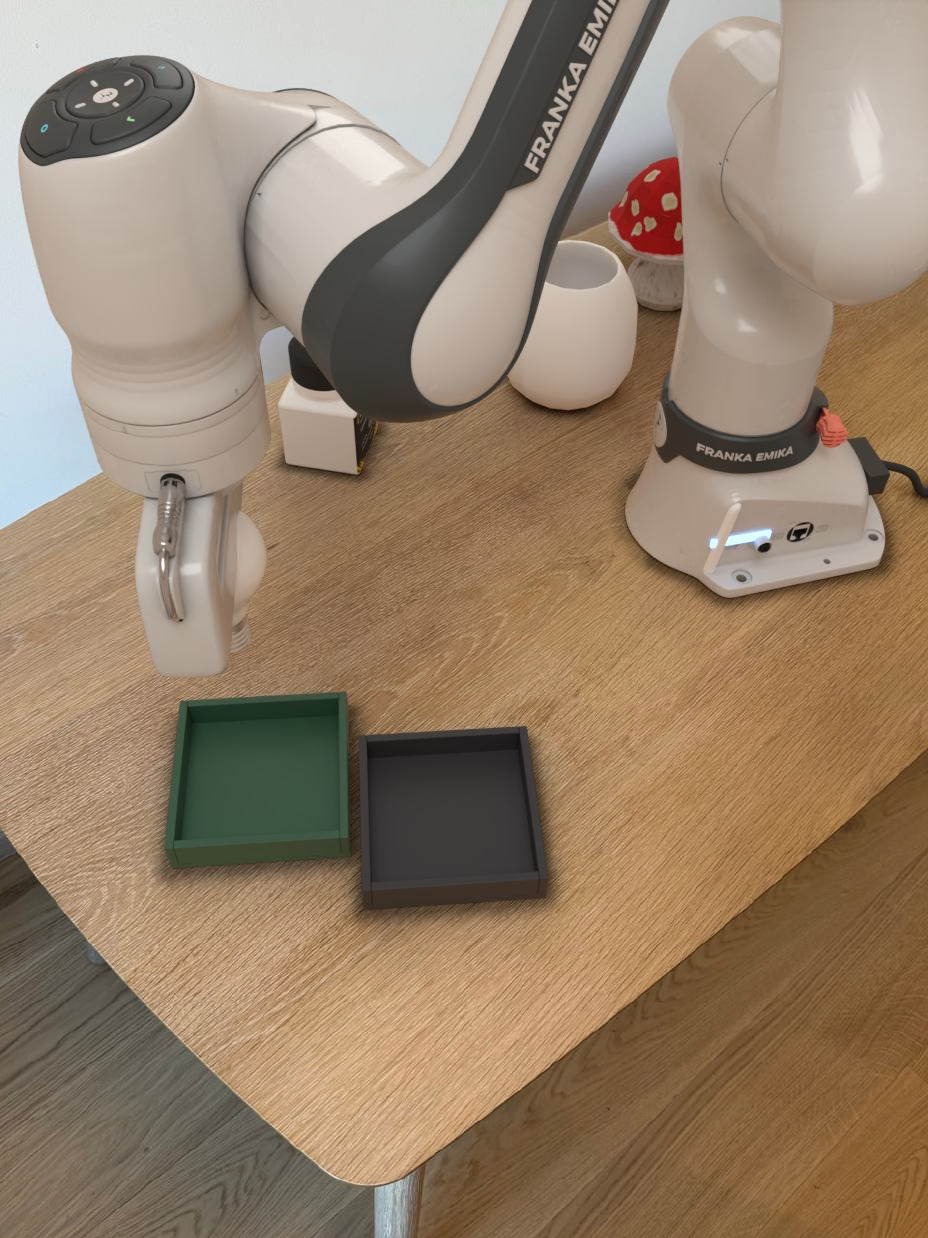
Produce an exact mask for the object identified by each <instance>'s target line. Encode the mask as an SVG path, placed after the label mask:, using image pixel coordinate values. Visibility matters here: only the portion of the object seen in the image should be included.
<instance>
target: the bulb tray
mask: <svg viewBox="0 0 928 1238" xmlns="http://www.w3.org/2000/svg"><path fill="white" fill-rule="evenodd" d="M347 694H348V693H347V691H329V692H312V693H310V692H309V693H293V694H277V695H276V694H275V695H258V696H241V697H240V696H238V697H220V698H204V699H203V698H202V699H188V700H187V699H186V700H185V699H184V700H179V707H178V715H177V725H176V734H175V741H174V743H175V744H174V752H173V754H174V755H173V760H172V761H173V762H172V771H171V779H170V781H171V782H170V791H169V799H168V800H169V801H168V808H167V809H168V810H167V819H166V827H165V838H164V848H163V849H164V852H165V854H166V857H167V859H168V862H169V864H170V867H171V869H186V868H202V867H216V866H217V867H218V866H229V865H230V866H231V865H232V866H233V865H247V864H248V865H249V864H264V863H278V862H280V863H281V862H292V861H293V862H295V861H308V860H321V859H322V860H325V859H326V860H327V859H339V858H342V859H343V858H351V857H352V833H351V831H352V830H351V829H352V826H351V824H352V823H351V822H352V821H351V820H352V819H351V768H350V767H351V765H350V764H351V762H350V761H351V760H350V713H349V712H350V711H349V703H348V702H349V701H348V695H347Z"/></svg>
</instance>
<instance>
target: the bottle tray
mask: <svg viewBox="0 0 928 1238" xmlns="http://www.w3.org/2000/svg"><path fill="white" fill-rule="evenodd" d="M528 732H529V731H528V726H527V725H519V726H517V725H515V726H502V727H501V726H500V727H482V728H481V727H479V728H465V729H447V730H432V731H431V730H430V731H429V730H428V731H413V732H396V733H394V732H393V733H376V734H360V735H358V737H357V740H358V781H359V783H358V784H359V821H360V823H359V826H360V828H359V829H360V832H359V833H360V868H361V870H360V872H361V873H360V874H361V875H360V876H361V895H362V903H363V904H362V905H363V911H370V910H371V911H373V910H387V909H401V908H415V907H416V908H417V907H429V906H430V907H431V906H443V905H445V906H446V905H459V904H476V903H488V902H501V901H502V902H505V901H518V900H534V899H545V898H547V890H548V883H549V873H548V865H547V857H546V851H545V844H544V837H543V829H542V823H541V815H540V809H539V801H538V795H537V788H536V781H535V774H534V767H533V760H532V753H531V746H530V738H529V733H528Z"/></svg>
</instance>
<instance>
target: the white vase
mask: <svg viewBox="0 0 928 1238" xmlns="http://www.w3.org/2000/svg"><path fill="white" fill-rule="evenodd" d="M627 273H628V272H627V270H626V268H625V266H624V264H623V263H622V260H621V259H620V258H619V256H618V255H617V254H616V253H614V252H613V251H611V250H610V249H608V248H606V247H605V246H603V245H599V244H596V243H594V242H590V241H587V240H585V241H584V240H576V239H575V240H573V239H566V240H559V242H558V244H557V247H556V249H555V252H554V255H553V258H552V261H551V264H550V267H549V270H548V273H547V277H546V280H545V284H544V287H543V291H542V294H541V298H540V302H539V305H538V308H537V312H536V315H535V318H534V322H533V325H532V328H531V331H530V333H529V336H528V338H527V341H526V343H525V345H524V348H523V350H522V352H521V354H520V356H519V358H518V360H517V361H516V363H515V365H514V366H513V368H512V369H511V371H510V372H509V374H508V375H507V377H508V380H509V382H510V384H511V386H512V388H514V389H515V390H517V391H518V392H519V393H520V394H522V396H524V397H525V398H527V399H528V400H529V401H531V402H532V403H535V404H538V405H540V406H543V407H546V408H548V409H553V410H554V409H555V410H562V411H563V410H564V411H572V410H578V409H585V408H588V407H591V406H594V405H595V404H598V403H600V402H602V401H605V400H606V399H608V398H611V397H612V396H613V394H614V393H615V392H616V391H617V390H618V388H619V387H620V386H621V384H622V383H623V382H624V380H625V378H626V377H627V376H628V374H629V372H630V371H631V369H632V366H633V360H634V356H635V350H636V345H637V329H638V327H637V326H638V309H639V308H638V306H639V303H638V302H637V301H636V297H635V293H634V289H633V285H632V283H631V281H630V279H629V277H628V275H627Z"/></svg>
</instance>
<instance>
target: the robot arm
mask: <svg viewBox="0 0 928 1238" xmlns="http://www.w3.org/2000/svg"><path fill="white" fill-rule="evenodd" d="M670 1H671V0H507V1H506V4H505V6H504V9H503V10H502V11H503V12H502V14H501V16H500V18H499V21H498V23H497V24H496V27H495V30H494V32H493V35H492V37H491V39H490V40H489V41H490V42H489V44H488V46H487V49H486V51H485V53H484V55H483V58H482V60H481V62H480V65H479V67H478V69H477V71H476V74H475V76H474V78H473V81H472V83H471V85H470V88H469V90H468V93H467V95H466V97H465V99H464V102H463V104H462V106H461V109H460V111H459V113H458V115H457V118H456V120H455V122H454V125H453V127H452V130H451V131H450V134H449V135H448V138H447V141H446V143H445V145H444V147H443V149H442V150H441V152H440V154H439V155H438V156H437V158H436V159H435V161H433V162H432V164H431V165H430V166H428V165H427V164H425V163H424V162H423V161H421V160H420V159H419V158H417V157H416V156H415V155H413V154H412V153H411V152H409V151H408V150H406V148H404V147H403V146H402V145H401V144H400V142H398V141H397V140H396V139H395V137H393V136H391V135H390V134H389V133H387V132H386V131H385V130H383V129H382V128H381V127H380V126H378V125H377V124H375V123H374V122H372V121H371V120H370V119H368V118H367V117H366V116H365V115H363V114H362V113H361V112H359V111H358V110H356V109H355V108H354V107H352V106H350V105H349V104H348V103H346V102H344V101H343V100H340V99H339V98H336V97H335V96H333V95H332V94H328V93H327V92H323V91H321V90H316V89H313V88H305V87H290V88H284V89H277V90H274V91H272V92H271V91H256V90H248V89H242V88H237V87H234V86H229V85H226V84H224V83H220V82H217V81H214V80H211V79H208V78H206V77H204V76H202V75H200V74H199V73H196V72H195V71H193V70H191V69H190V68H189V67H187V66H186V65H184V64H183V63H181V62H179V61H177V60H175V59H171V58H168V57H164V56H161V55H160V56H159V55H152V54H151V55H150V54H149V55H148V54H135V55H126V56H125V55H124V56H120V57H118V56H116V57H115V56H114V57H110V58H105V59H101V60H98V61H94V62H92V63H89V64H86V65H84V66H81V67H80V68H77V69H75V70H73V71H71V72H69V73H68V74H66V75H65V76H63V77H61V78H60V79H59V80H57V81H56V82H54V83H53V84H52V85H51V86H49V87H48V88H47V89H46V90H45V91H44V92H42V94H41V95H40V96H38V98H37V99H36V101H34V103H33V104H32V106H31V107H30V108H29V111H28V112H27V114H26V117H25V119H24V121H23V124H22V127H21V130H20V134H19V140H18V149H17V151H18V152H17V153H18V156H17V157H18V158H17V159H18V161H17V164H18V176H19V177H18V178H19V184H20V186H19V187H20V191H21V192H20V193H21V201H22V205H23V210H24V211H23V212H24V216H25V221H26V227H27V230H28V235H29V239H30V243H31V248H32V251H33V256H34V259H35V263H36V267H37V270H38V275H39V277H40V281H41V284H42V287H43V291H44V294H45V297H46V301H47V303H48V307H49V310H50V311H51V313H52V316H53V317H54V319H55V321H56V323H57V324H58V326H59V327H60V328H61V330H62V331H63V332H64V334H65V335H66V337H67V340H68V341H69V344H70V349H71V361H70V370H71V379H72V382H73V383H72V384H73V387H74V390H75V393H76V397H77V400H78V402H79V406H80V410H81V412H82V416H83V419H84V423H85V425H86V428H87V432H88V435H89V438H90V441H91V445H92V447H93V451H94V453H95V458H96V461H97V463H98V466H99V467H100V469H101V470H102V472H103V473H104V475H105V476H106V477H107V478H108V479H109V480H110V481H111V482H113V483H114V484H115V485H117V486H118V487H120V488H122V489H124V490H125V491H127V492H130V493H133V494H135V495H139V496H142V497H143V498H144V499H143V503H142V510H141V516H140V524H139V529H138V536H137V537H138V538H137V543H136V547H135V548H136V549H135V558H134V583H135V592H136V598H137V604H138V609H139V614H140V618H141V622H142V626H143V630H144V634H145V639H146V643H147V646H148V647H147V648H148V651H149V656H150V659H151V663H152V665H153V668H154V670H155V672H156V673H157V674H158V675H159V676H161V677H164V678H169V679H199V678H209V677H214V676H219V675H222V674H224V673H225V672H226V671H228V669H229V668H230V661H231V654H230V650H231V642H232V623H233V610H234V597H235V584H236V571H237V519H238V514H239V512H240V511H242V503H243V491H244V490H243V489H244V481H245V480H246V478H247V476H248V475H250V474H251V473H252V472H253V471H254V470H255V469H256V468H257V467H258V466H259V465H260V464H261V463H262V461H263V460H264V458H265V457H266V455H267V453H268V450H269V448H270V445H271V440H272V426H271V425H272V424H271V420H270V413H269V405H268V399H267V391H266V386H265V378H264V377H265V376H264V372H263V365H262V359H261V351H260V350H261V349H260V348H261V343H262V340H263V338H264V337H265V335H267V334H268V333H269V332H270V331H273V330H276V329H279V328H281V327H283V328H285V329H286V330H287V331H288V332H289V333H290V334H291V335H292V337H295V338H296V339H297V340H298V341H299V342H300V343H301V344H302V345H303V346H304V347H305V348H306V350H307V352H308V354H309V355H310V357H311V358H312V360H313V361H314V362H315V364H316V365H317V366H318V368H319V369H320V370H321V372H322V373H323V374H324V376H325V377H326V378H327V380H328V381H329V382H330V384H331V385H332V386H333V388H334V389H335V390H336V392H337V393H338V394H339V396H340V397H341V398H342V399H343V401H344V402H345V403H346V404H347V405H348V406H349V407H350V408H351V409H352V410H354V411H355V412H356V413H358V414H360V415H362V416H364V417H366V418H369V419H372V420H375V421H378V422H380V423H388V424H411V423H421V422H428V421H433V420H438V419H442V418H446V417H449V416H452V415H454V414H455V415H456V414H457V413H460V412H463V411H464V410H467V409H469V408H471V407H473V406H474V405H476V404H478V403H480V402H481V401H482V400H484V399H485V398H487V397H488V396H489V395H490V394H492V393H493V392H494V391H495V390H496V389H497V388H498V387H499V386H500V385H501V384H502V383H503V381H504V380H505V379H506V378H507V377H508V374H509V372H510V371H511V369H512V368H513V366H514V365H515V363H516V361H517V360H518V358H519V356H520V354H521V352H522V350H523V348H524V345H525V343H526V341H527V338H528V336H529V333H530V331H531V328H532V325H533V322H534V318H535V315H536V312H537V308H538V305H539V302H540V298H541V294H542V291H543V287H544V284H545V280H546V277H547V273H548V270H549V267H550V264H551V261H552V258H553V255H554V252H555V249H556V247H557V244H558V242H559V241H560V240H561V237H562V235H563V232H564V230H565V228H566V226H567V224H568V222H569V219H570V217H571V215H572V212H573V211H574V208H575V206H576V203H577V202H578V199H579V197H580V195H581V193H582V190H583V189H584V186H585V184H586V182H587V180H588V178H589V176H590V174H591V171H592V169H593V167H594V165H595V163H596V161H597V159H598V156H599V155H600V152H601V150H602V148H603V146H604V144H605V141H606V140H607V137H608V135H609V133H610V131H611V129H612V127H613V125H614V121H615V120H616V117H617V116H618V114H619V112H620V109H621V108H622V106H623V103H624V101H625V99H626V96H627V94H628V93H629V90H630V88H631V86H632V84H633V82H634V79H635V78H636V75H637V73H638V71H639V69H640V66H641V64H642V62H643V60H644V58H645V56H646V54H647V51H648V49H649V48H650V46H651V43H652V41H653V39H654V36H655V35H656V32H657V30H658V28H659V26H660V24H661V21H662V19H663V17H664V14H666V13H665V12H666V10H667V8H668V6H669V4H670ZM779 12H780V23H779V22H775V21H771V20H768V19H764V18H761V17H758V16H752V15H751V16H748V15H744V16H741V15H740V16H736V17H730V18H728V19H725V20H722V21H721V22H719V23H717V24H714V25H713V26H711V27H710V28H708V29H707V30H705V31H704V32H703V33H701V35H699V36H698V37H697V38H696V39H695V40H694V41H693V42H692V43H691V44H690V45H689V46H688V48H687V49H686V51H685V52H684V53H683V54H682V56H681V58H680V59H679V61H678V62H677V65H676V67H675V69H674V71H673V73H672V76H671V78H670V82H669V86H668V90H667V95H666V96H667V97H666V109H667V111H666V112H667V116H668V120H669V124H670V128H671V132H672V136H673V139H674V144H675V145H674V146H675V149H676V154H677V157H678V162H679V171H680V184H681V208H682V231H683V258H684V291H683V303H682V308H681V310H680V317H679V321H678V328H677V335H676V339H675V346H674V350H673V351H674V352H673V357H672V362H671V367H670V368H669V369H668V370H667V372H666V374H665V376H664V378H663V383H662V387H661V391H660V395H659V399H658V401H657V402H656V407H655V413H654V419H653V425H652V426H653V427H652V439H653V443H652V446H651V449H650V452H649V454H648V456H647V460H646V462H645V464H644V466H643V468H642V471H641V473H640V475H639V477H638V479H637V480H636V483H634V486H633V487H632V489H631V490H630V492H629V494H628V496H627V498H626V501H625V507H624V514H625V521H626V524H627V528H628V529H629V532H630V533H631V535H632V537H633V538H634V539H635V541H636V542H637V543H638V545H639V546H640V547H641V548H642V549H643V550H644V551H645V552H646V553H648V554H649V555H650V556H651V557H653V558H654V559H656V560H657V561H658V562H661V563H662V564H664V565H666V566H667V567H670V568H671V569H674V570H677V571H679V572H682V573H684V574H687V575H689V576H691V577H694V578H695V579H697V580H698V581H699V582H701V583H702V584H703V585H704V586H705V587H707V588H708V589H709V590H711V592H714V593H715V594H716V595H718V596H721V597H723V598H728V599H730V598H731V599H732V598H733V599H735V598H739V597H743V596H748V595H753V594H757V593H762V592H766V591H767V592H768V591H771V590H776V589H781V588H785V587H791V586H796V585H801V584H805V583H810V582H814V581H820V580H824V579H829V578H833V577H837V576H838V577H839V576H842V575H847V574H853V573H858V572H863V571H867V570H870V569H873V568H874V569H875V568H877V567H878V566H879V565H880V563H881V560H882V558H883V555H884V551H885V548H886V547H885V546H886V531H885V527H884V526H885V525H884V523H883V522H884V521H883V519H882V517H881V513H880V510H879V508H878V505H877V503H876V502H875V500H874V498H873V496H875V495H882V494H883V493H884V491H885V489H886V486H887V484H888V482H889V479H890V477H891V472H894V473H898V474H901V475H903V476H905V477H906V478H908V479H909V480H910V483H911V485H912V487H913V490H914V492H915V493H916V494H917V495H919V496H920V497H928V487H925V486H924V485H923V483H922V480H921V477H920V476H919V474H918V472H917V471H916V470H915V469H913V468H912V467H910V466H907V465H904V464H902V463H898V462H893V461H889V460H883V459H881V458H880V456H879V455H878V454H877V452H876V451H875V449H874V448H873V446H872V444H871V443H870V442H869V440H868V439H867V437H866V436H860V437H852V438H848V435H849V433H848V430H847V429H846V427H845V426H844V425H843V423H842V418H841V416H840V415H838V414H834V413H830V412H829V406H830V403H829V400H828V398H827V396H826V394H825V392H824V391H823V390H822V389H821V388H819V387H818V386H817V384H816V383H817V381H818V377H819V374H820V371H821V367H822V365H823V361H824V358H825V355H826V352H827V349H828V346H829V343H830V340H831V337H832V333H833V329H834V319H835V317H834V315H835V311H834V309H835V307H834V304H835V305H837V306H843V307H862V306H863V307H864V306H866V305H871V304H874V303H877V302H881V301H884V300H885V299H889V298H890V297H892V296H894V295H896V294H898V293H900V292H901V291H903V290H905V289H906V288H907V287H909V286H911V284H913V283H914V282H915V281H916V280H918V279H919V278H920V277H921V276H922V275H924V273H925V272H926V271H927V270H928V0H779Z"/></svg>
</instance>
